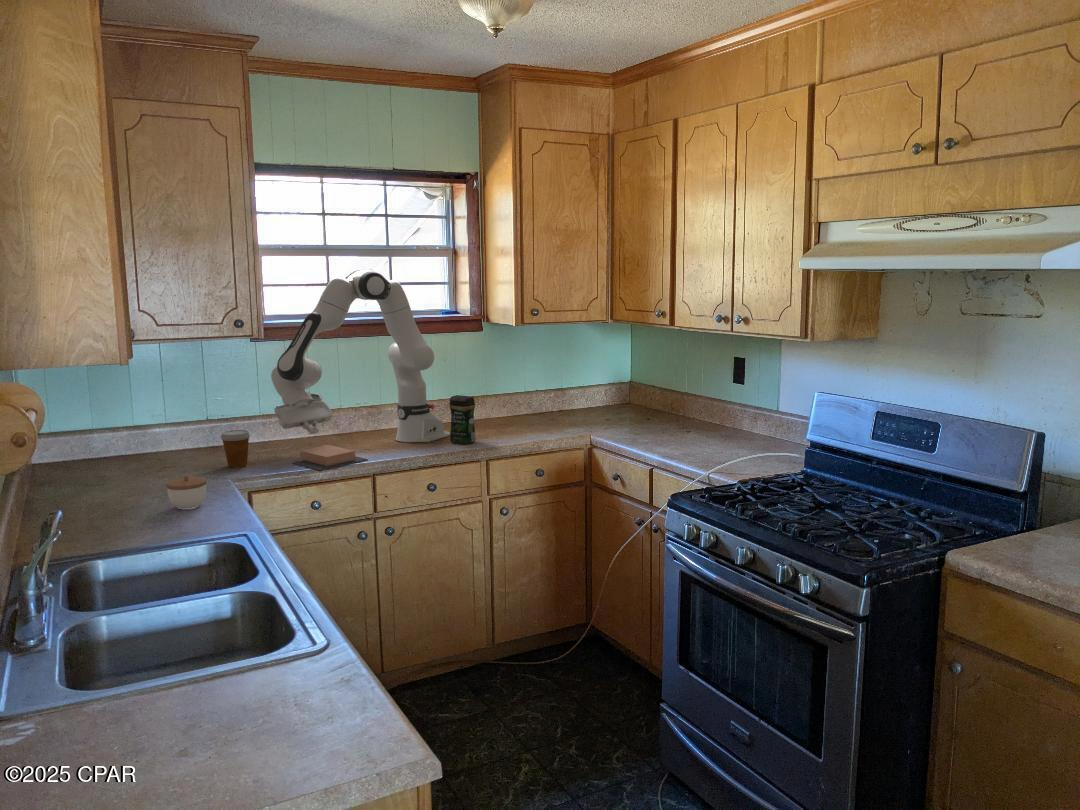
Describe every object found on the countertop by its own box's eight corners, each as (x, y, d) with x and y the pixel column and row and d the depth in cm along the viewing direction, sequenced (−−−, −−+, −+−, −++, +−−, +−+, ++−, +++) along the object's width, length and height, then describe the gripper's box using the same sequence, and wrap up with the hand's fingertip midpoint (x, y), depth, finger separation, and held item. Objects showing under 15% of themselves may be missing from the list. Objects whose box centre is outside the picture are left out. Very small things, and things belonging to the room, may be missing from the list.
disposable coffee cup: (228, 470, 284) (226, 436, 282) (219, 465, 291) (216, 432, 289) (256, 466, 290) (253, 432, 288) (246, 461, 297) (243, 428, 295)
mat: (339, 453, 308) (339, 452, 308) (368, 460, 297) (367, 459, 297) (292, 463, 293) (292, 462, 293) (320, 471, 282) (320, 469, 282)
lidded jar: (196, 499, 249) (193, 469, 247) (215, 506, 242) (212, 474, 241) (161, 508, 241) (158, 476, 239) (180, 514, 234) (177, 482, 233)
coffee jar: (446, 443, 323) (445, 396, 320) (458, 439, 330) (457, 393, 327) (467, 445, 319) (466, 397, 316) (478, 441, 326) (477, 394, 323)
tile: (327, 444, 305) (354, 450, 295) (328, 453, 305) (355, 460, 295) (299, 450, 296) (326, 457, 286) (300, 459, 296) (326, 466, 286)
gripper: (275, 401, 294) (292, 432, 289) (324, 394, 309) (341, 423, 304) (269, 412, 297) (286, 442, 293) (318, 404, 312) (334, 433, 308)
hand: (314, 432), depth 299 cm, fingers closed
